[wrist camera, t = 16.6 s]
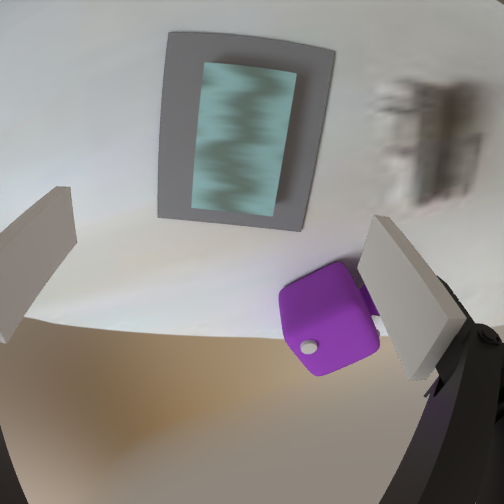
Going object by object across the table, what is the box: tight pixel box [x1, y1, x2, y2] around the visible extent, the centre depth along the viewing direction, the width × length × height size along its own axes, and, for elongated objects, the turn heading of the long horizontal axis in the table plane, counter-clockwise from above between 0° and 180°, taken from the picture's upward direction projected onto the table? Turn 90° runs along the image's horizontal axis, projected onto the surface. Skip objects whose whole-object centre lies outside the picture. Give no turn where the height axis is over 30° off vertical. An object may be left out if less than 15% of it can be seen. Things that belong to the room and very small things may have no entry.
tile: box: [191, 62, 297, 217], centre depth 29 cm, size 8×3×14 cm
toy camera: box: [279, 262, 380, 376], centre depth 37 cm, size 11×14×10 cm
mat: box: [158, 32, 335, 232], centre depth 31 cm, size 16×20×1 cm
